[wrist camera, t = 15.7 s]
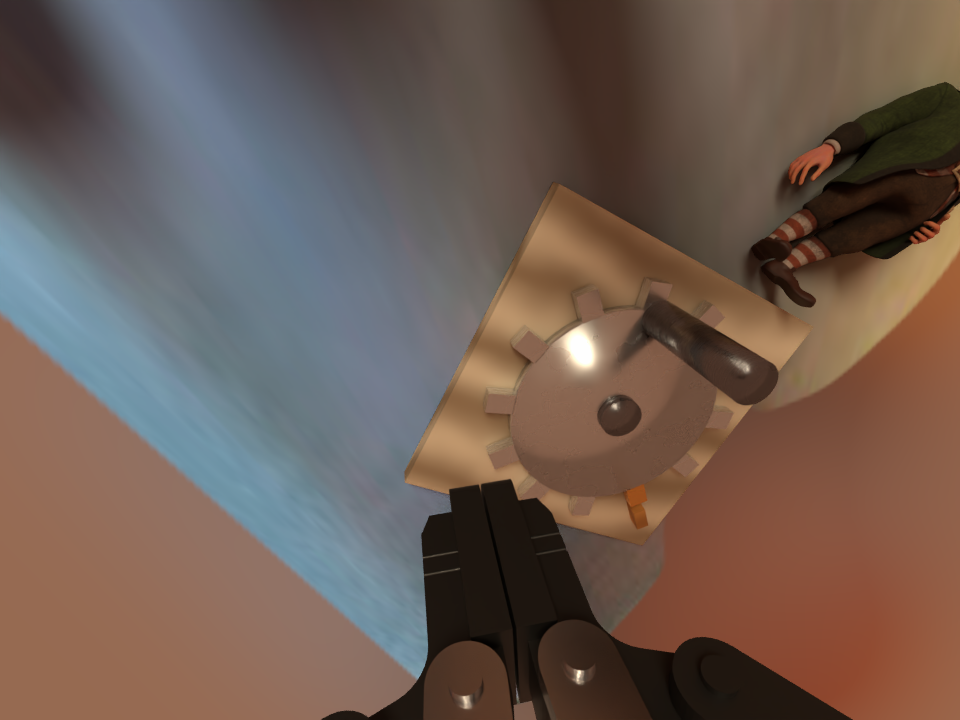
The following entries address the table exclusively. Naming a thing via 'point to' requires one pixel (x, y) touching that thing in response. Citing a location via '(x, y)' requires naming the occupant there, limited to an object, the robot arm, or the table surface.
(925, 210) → the leprechaun
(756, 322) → the base board
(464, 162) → the table surface
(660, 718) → the robot arm
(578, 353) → the sprocket
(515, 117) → the table surface
